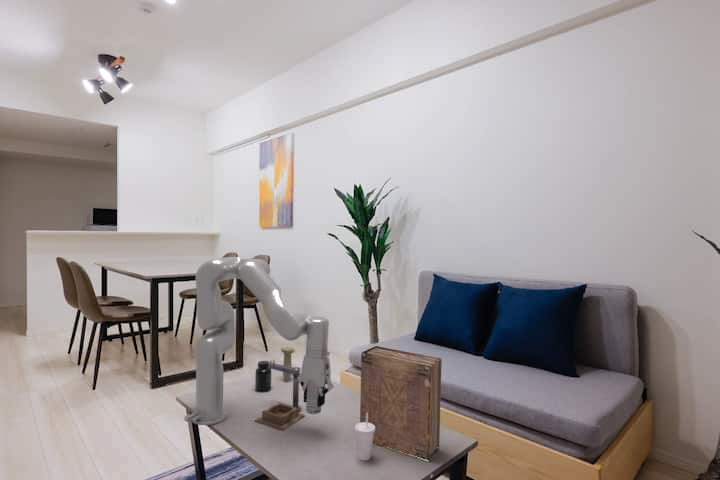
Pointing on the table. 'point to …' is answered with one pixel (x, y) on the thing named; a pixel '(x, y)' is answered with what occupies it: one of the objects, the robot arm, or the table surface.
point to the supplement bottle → (263, 377)
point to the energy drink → (312, 398)
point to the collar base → (283, 412)
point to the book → (402, 399)
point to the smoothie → (364, 439)
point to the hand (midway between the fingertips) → (313, 402)
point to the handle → (287, 361)
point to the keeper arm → (284, 368)
